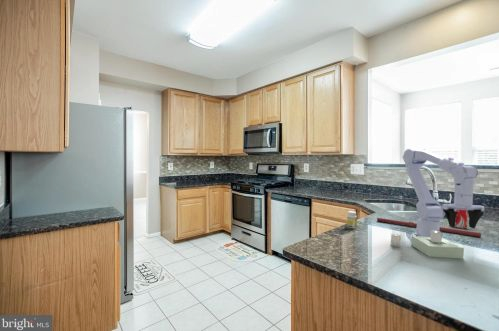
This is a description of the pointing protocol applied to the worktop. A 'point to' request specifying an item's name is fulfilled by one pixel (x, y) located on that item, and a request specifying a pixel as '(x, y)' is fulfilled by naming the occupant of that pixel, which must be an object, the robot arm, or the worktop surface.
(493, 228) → the worktop surface
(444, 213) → the robot arm
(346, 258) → the worktop surface
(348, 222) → the supplement bottle
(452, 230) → the rolling pin
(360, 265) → the worktop surface
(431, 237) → the long pin
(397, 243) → the short pin
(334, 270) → the worktop surface
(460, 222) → the soda can
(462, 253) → the hole block
